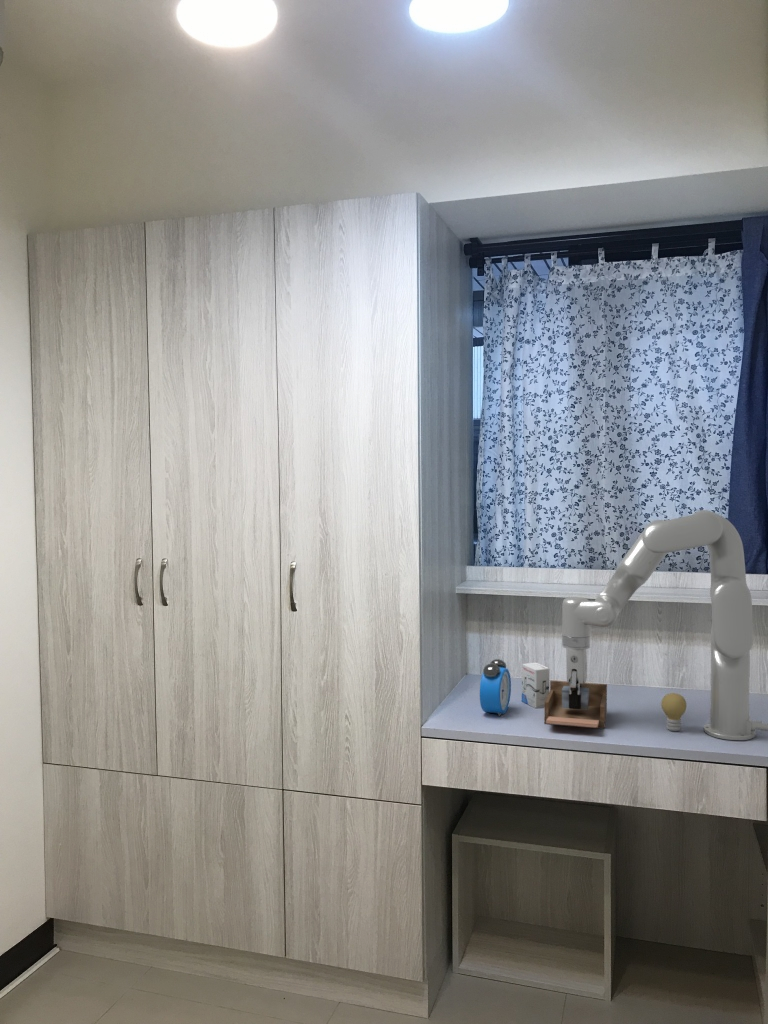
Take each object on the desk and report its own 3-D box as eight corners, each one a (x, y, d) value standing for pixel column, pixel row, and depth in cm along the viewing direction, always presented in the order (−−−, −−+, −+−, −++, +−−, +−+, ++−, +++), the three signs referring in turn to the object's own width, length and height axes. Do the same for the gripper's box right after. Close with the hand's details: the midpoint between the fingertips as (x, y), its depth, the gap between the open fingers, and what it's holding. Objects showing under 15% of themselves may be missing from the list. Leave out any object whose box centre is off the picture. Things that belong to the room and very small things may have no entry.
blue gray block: (589, 705, 235) (589, 687, 235) (587, 710, 231) (587, 692, 230) (563, 703, 237) (563, 686, 237) (561, 708, 233) (561, 690, 233)
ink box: (520, 701, 254) (520, 663, 253) (535, 699, 255) (535, 661, 255) (535, 708, 246) (535, 669, 245) (550, 706, 247) (550, 667, 247)
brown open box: (606, 713, 240) (606, 684, 240) (603, 728, 226) (604, 697, 226) (550, 708, 245) (550, 680, 245) (544, 723, 231) (544, 693, 230)
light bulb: (666, 725, 229) (666, 689, 228) (689, 729, 225) (690, 692, 224) (657, 730, 224) (657, 694, 223) (681, 735, 220) (681, 698, 219)
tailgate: (599, 719, 226) (597, 724, 219) (599, 722, 226) (597, 727, 219) (549, 715, 230) (546, 720, 223) (549, 718, 230) (546, 723, 223)
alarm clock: (499, 720, 235) (499, 667, 234) (478, 717, 237) (478, 665, 237) (511, 707, 247) (511, 657, 246) (491, 705, 249) (491, 656, 249)
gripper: (587, 648, 224) (587, 715, 225) (591, 636, 240) (591, 699, 241) (559, 647, 226) (558, 713, 227) (565, 635, 242) (564, 697, 243)
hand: (575, 705), depth 234 cm, fingers closed on blue gray block, 4 cm apart
